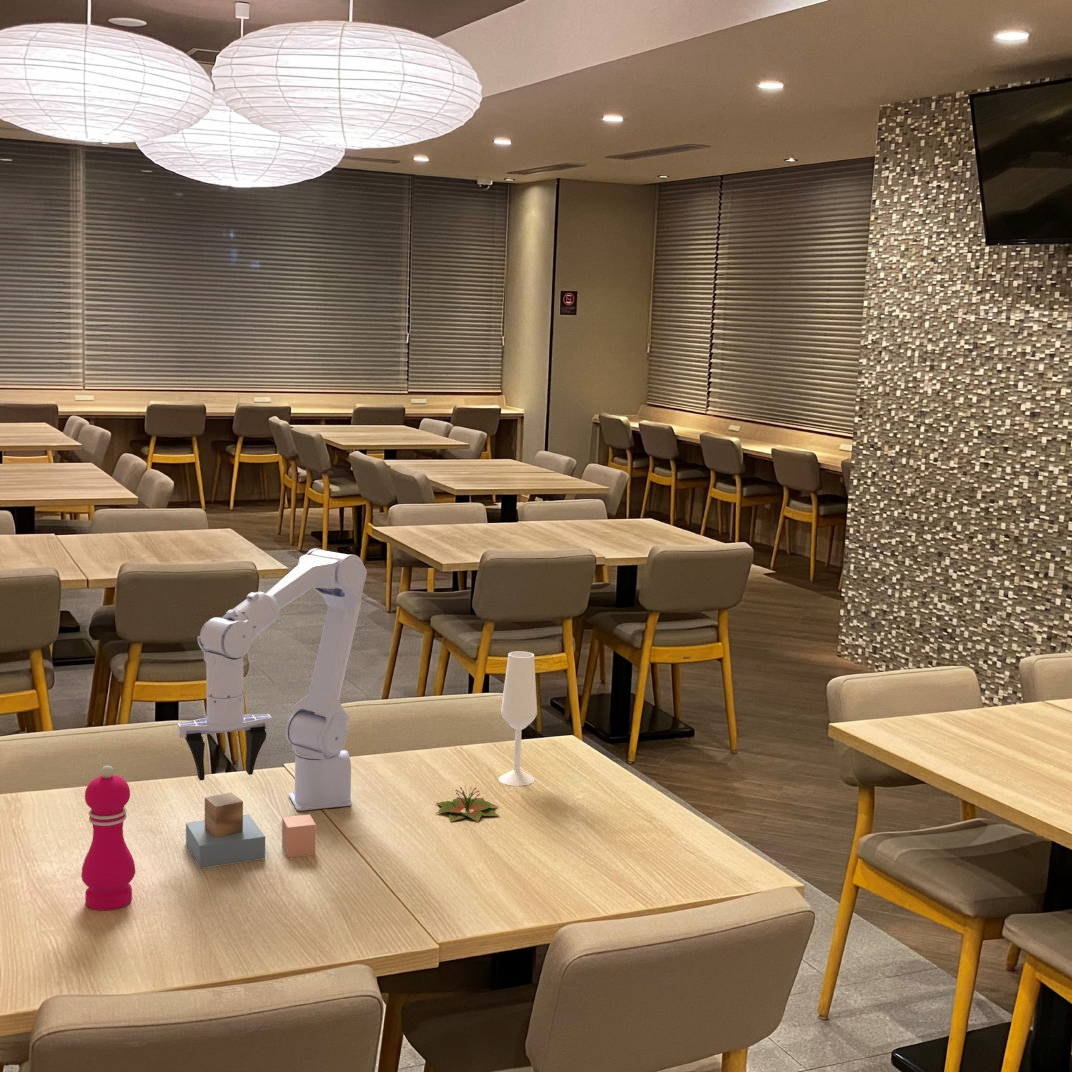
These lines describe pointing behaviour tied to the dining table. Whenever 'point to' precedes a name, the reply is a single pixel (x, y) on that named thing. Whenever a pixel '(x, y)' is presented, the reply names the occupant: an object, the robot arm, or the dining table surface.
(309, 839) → the terracotta block
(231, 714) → the robot arm
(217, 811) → the walnut block
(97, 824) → the pepper mill
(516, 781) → the champagne flute
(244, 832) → the base block
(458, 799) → the lily flower
